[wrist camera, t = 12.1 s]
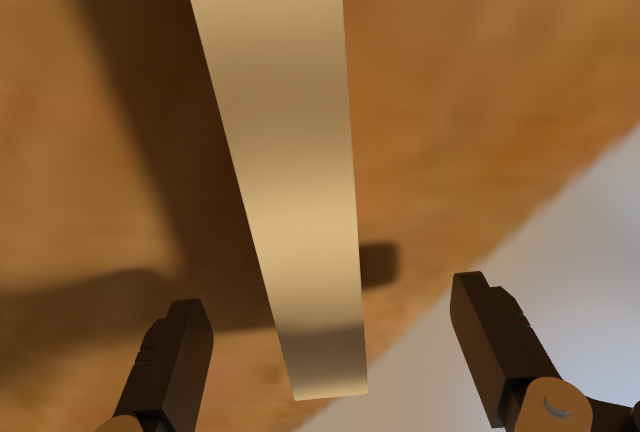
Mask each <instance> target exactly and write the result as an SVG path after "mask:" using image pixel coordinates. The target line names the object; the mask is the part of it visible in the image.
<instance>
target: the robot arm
mask: <svg viewBox="0 0 640 432" xmlns="http://www.w3.org/2000/svg"><path fill="white" fill-rule="evenodd" d="M450 316H451V321H452V325H453V328H454V330H455V333H456V336H457V338H458V341H459V344H460V346H461V349H462V351H463V354H464V356H465V359H466V362H467V365H468V367H469V370H470V372H471V375H472V378H473V380H474V383H475V386H476V388H477V391H478V393H479V396H480V399H481V401H482V404H483V407H484V409H485V412H486V414H487V417H488V420H489V422H490V425H491V428H503V427H505V430H506V432H640V401H638V402H637V403H636V404H635V406H634V407H633V408H631V407H627V406H622V405H617V404H612V403H607V402H603V401H598V400H594V399H591V398H589V397H587V396H585V395H584V394H583V393H582V392H581V391H580V390H578V389H577V388H576V387H575V386H573V385H572V384H570V383H568V382H566V381H564V380H563V379H562V378H561V377H560V375H559V373H558V372H557V370H556V369H555V367H554V365H553V363H552V362H551V360H550V358H549V356H548V355H547V353H546V351H545V350H544V348H543V346H542V344H541V343H540V341H539V339H538V337H537V336H536V334H535V332H534V331H533V329H532V328H531V327H530V324H529V322H528V320H527V318H526V317H525V316H524V315H523V312H522V310H521V308H520V306H519V305H518V303H517V301H516V300H515V298H514V297H513V296H511V295H510V294H509V293H508V292H507V291H505V290H504V289H503V288H502V287H501V286H498V287H489V285H488V283H487V281H486V279H485V277H484V275H483V274H482V272H480V271H474V272H464V273H455V274H454V277H453V284H452V293H451V301H450ZM212 350H213V331H212V328H211V325H210V323H209V320H208V318H207V315H206V313H205V310H204V308H203V305H202V303H201V301H200V299H198V298H196V299H186V300H176V301H173V302H172V304H171V306H170V309H169V312H168V315H167V318H165V319H157V321H156V322H155V323H154V324H153V325H152V327H151V328H150V329H149V330H148V331H147V333H146V334H145V337H144V339H143V342H142V344H141V347H140V352H138V354H137V357H136V359H135V365H133V367H132V370H131V372H130V375H129V377H128V380H127V382H126V385H125V387H124V390H123V392H122V395H121V397H120V400H119V402H118V405H117V407H116V410H115V412H114V414H113V416H112V418H111V419H109V420H107V421H106V422H104V423H103V424H101V425H100V426H99V427H98V428H97V429H96V430H95V431H94V432H195V427H196V422H197V418H198V413H199V409H200V404H201V400H202V395H203V391H204V386H205V382H206V377H207V373H208V368H209V364H210V359H211V355H212Z"/></svg>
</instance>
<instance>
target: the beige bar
mask: <svg viewBox="0 0 640 432" xmlns="http://www.w3.org/2000/svg"><path fill="white" fill-rule="evenodd" d="M191 4H192V7H193V11H194V15H195V19H196V23H197V27H198V30H199V34H200V38H201V42H202V46H203V50H204V53H205V57H206V61H207V65H208V69H209V73H210V76H211V80H212V84H213V88H214V92H215V96H216V99H217V103H218V107H219V111H220V115H221V119H222V122H223V126H224V130H225V134H226V138H227V142H228V145H229V149H230V153H231V157H232V161H233V165H234V168H235V172H236V176H237V180H238V184H239V187H240V191H241V195H242V199H243V203H244V207H245V210H246V214H247V218H248V222H249V226H250V230H251V233H252V237H253V241H254V245H255V249H256V253H257V256H258V260H259V264H260V268H261V272H262V276H263V279H264V283H265V287H266V291H267V295H268V299H269V302H270V306H271V310H272V314H273V318H274V322H275V325H276V329H277V333H278V337H279V341H280V345H281V348H282V352H283V356H284V360H285V364H286V368H287V371H288V375H289V379H290V383H291V387H292V391H293V394H294V398H295V401H297V400H307V399H318V398H328V397H339V396H349V395H360V394H368V384H367V368H366V353H365V338H364V322H363V307H362V292H361V277H360V262H359V246H358V231H357V216H356V201H355V186H354V170H353V155H352V140H351V125H350V110H349V94H348V79H347V64H346V49H345V33H344V18H343V3H342V0H191Z"/></svg>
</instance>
